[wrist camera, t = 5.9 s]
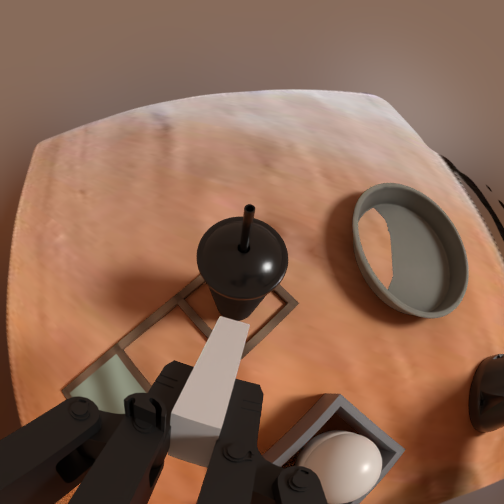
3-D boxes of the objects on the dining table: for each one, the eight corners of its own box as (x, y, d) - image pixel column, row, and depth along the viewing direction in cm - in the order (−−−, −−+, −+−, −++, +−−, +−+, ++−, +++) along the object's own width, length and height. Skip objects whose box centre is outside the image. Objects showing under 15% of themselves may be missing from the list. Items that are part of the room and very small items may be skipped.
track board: (237, 246, 38) (237, 244, 38) (297, 304, 35) (299, 303, 35) (63, 390, 26) (61, 390, 25) (115, 460, 23) (114, 461, 22)
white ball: (328, 415, 28) (362, 422, 20) (371, 450, 25) (411, 462, 17) (276, 466, 24) (294, 491, 16) (324, 500, 22) (353, 526, 14)
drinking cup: (276, 294, 36) (326, 199, 18) (245, 343, 32) (273, 288, 15) (227, 264, 37) (232, 151, 19) (194, 310, 34) (163, 222, 16)
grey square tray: (324, 393, 30) (340, 393, 26) (385, 444, 27) (405, 449, 22) (251, 464, 25) (255, 477, 21) (320, 512, 22) (333, 526, 17)
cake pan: (397, 182, 49) (407, 168, 45) (468, 275, 41) (483, 265, 37) (312, 228, 42) (320, 211, 38) (404, 357, 33) (423, 352, 29)
